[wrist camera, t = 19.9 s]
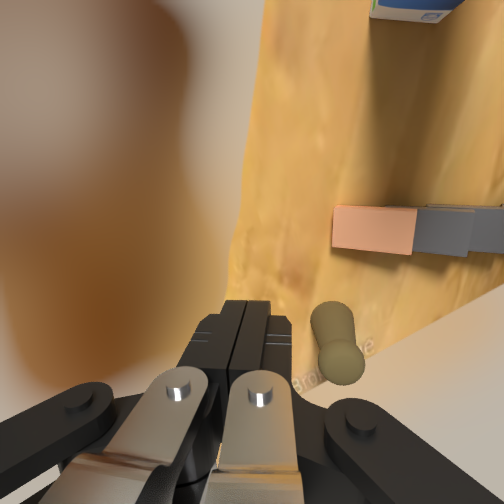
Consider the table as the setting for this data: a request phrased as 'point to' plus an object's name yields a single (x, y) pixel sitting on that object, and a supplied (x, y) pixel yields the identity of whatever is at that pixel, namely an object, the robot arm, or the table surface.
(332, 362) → the olive green pawn
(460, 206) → the domino
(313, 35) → the table surface
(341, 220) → the domino
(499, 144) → the table surface
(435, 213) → the domino
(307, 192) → the table surface
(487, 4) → the table surface
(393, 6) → the string lights box
